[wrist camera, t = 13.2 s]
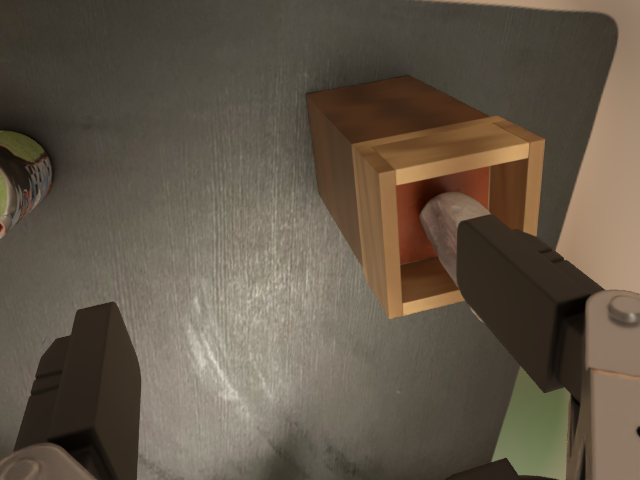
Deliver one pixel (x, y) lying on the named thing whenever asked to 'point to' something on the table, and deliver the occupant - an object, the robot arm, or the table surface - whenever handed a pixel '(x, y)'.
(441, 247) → the fossil
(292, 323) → the table surface
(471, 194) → the open wooden box
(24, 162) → the beverage can
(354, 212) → the plinth
